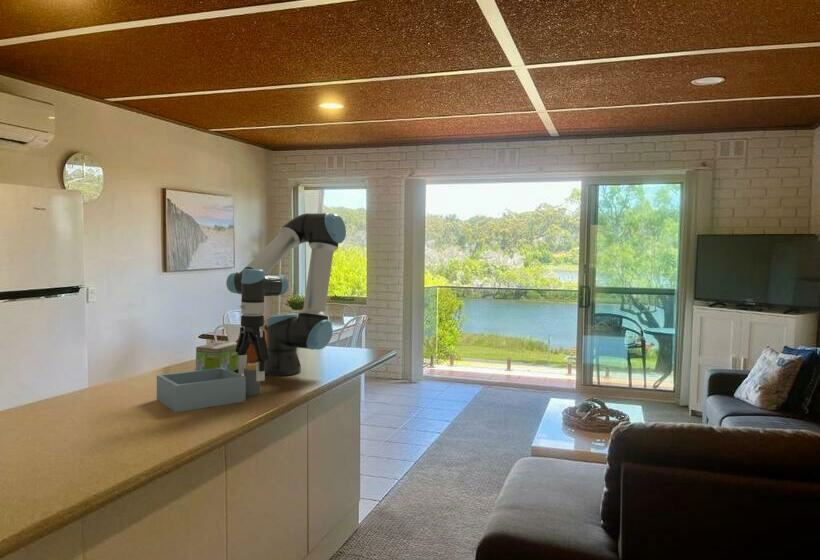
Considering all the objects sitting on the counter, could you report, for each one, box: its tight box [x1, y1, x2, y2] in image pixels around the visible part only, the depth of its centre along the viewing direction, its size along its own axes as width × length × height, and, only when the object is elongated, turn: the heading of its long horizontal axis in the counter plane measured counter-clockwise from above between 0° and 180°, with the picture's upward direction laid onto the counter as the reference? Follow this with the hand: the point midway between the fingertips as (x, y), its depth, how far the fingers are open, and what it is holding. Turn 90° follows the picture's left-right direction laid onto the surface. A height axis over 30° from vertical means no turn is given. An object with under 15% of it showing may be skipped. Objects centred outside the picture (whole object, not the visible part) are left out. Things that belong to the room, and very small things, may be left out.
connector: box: [243, 362, 261, 397], centre depth 201 cm, size 4×4×10 cm
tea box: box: [195, 341, 242, 375], centre depth 212 cm, size 15×10×15 cm, turn 167°
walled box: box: [156, 367, 247, 413], centre depth 190 cm, size 22×18×8 cm
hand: (251, 377), depth 200 cm, fingers open, 13 cm apart
